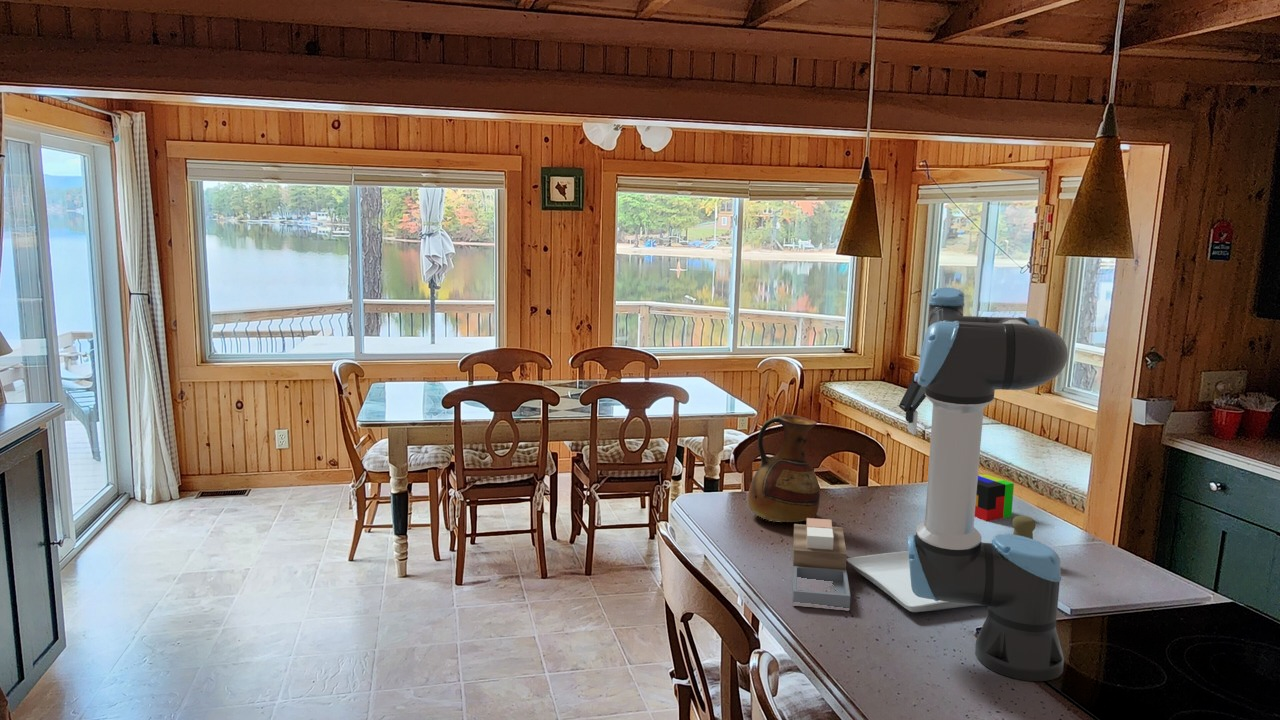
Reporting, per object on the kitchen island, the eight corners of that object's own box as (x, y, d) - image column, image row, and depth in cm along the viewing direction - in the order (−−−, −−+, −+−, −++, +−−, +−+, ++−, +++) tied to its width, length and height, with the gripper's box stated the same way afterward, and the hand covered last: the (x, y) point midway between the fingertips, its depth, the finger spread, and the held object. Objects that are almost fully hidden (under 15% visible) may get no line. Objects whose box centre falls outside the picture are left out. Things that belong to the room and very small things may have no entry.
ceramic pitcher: (820, 532, 220) (824, 425, 216) (745, 527, 223) (748, 421, 219) (817, 509, 239) (821, 410, 235) (748, 505, 242) (751, 407, 238)
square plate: (908, 623, 169) (909, 605, 168) (842, 571, 195) (843, 556, 194) (1017, 608, 176) (1019, 591, 175) (940, 560, 202) (940, 545, 201)
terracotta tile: (831, 539, 195) (832, 527, 195) (806, 538, 196) (806, 526, 196) (830, 531, 201) (831, 519, 201) (806, 529, 202) (806, 518, 202)
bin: (849, 611, 173) (850, 595, 172) (792, 606, 175) (793, 591, 175) (845, 584, 187) (846, 570, 186) (792, 580, 189) (793, 566, 188)
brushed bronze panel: (845, 582, 188) (846, 553, 187) (792, 578, 190) (793, 550, 189) (841, 553, 205) (842, 527, 204) (793, 550, 207) (794, 523, 206)
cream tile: (833, 549, 189) (833, 537, 189) (806, 547, 190) (807, 535, 190) (831, 540, 195) (832, 528, 194) (806, 538, 196) (806, 526, 196)
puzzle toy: (959, 510, 238) (961, 478, 237) (983, 506, 243) (985, 474, 241) (986, 521, 229) (988, 487, 228) (1011, 516, 234) (1013, 483, 232)
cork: (1037, 565, 198) (1040, 522, 197) (1011, 563, 199) (1014, 520, 198) (1030, 555, 204) (1034, 514, 203) (1005, 554, 205) (1008, 512, 204)
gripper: (977, 334, 199) (969, 407, 209) (887, 355, 194) (883, 429, 203) (997, 346, 193) (988, 421, 202) (904, 368, 187) (899, 444, 197)
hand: (935, 426), depth 203 cm, fingers open, 13 cm apart
